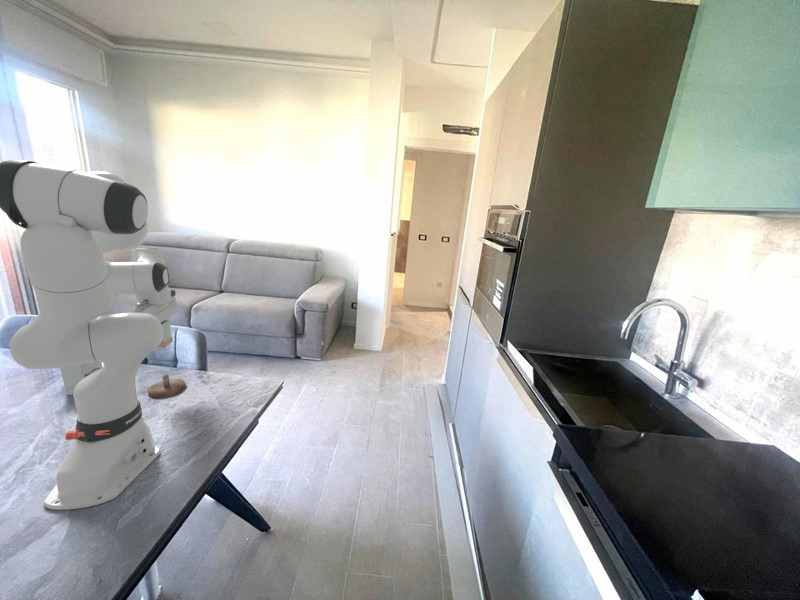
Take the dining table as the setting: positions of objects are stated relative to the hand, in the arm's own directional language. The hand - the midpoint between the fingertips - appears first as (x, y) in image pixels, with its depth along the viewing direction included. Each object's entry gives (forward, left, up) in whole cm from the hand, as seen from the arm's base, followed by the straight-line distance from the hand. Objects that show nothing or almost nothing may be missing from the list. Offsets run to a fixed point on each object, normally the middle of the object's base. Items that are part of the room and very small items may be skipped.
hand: (159, 335), depth 109 cm
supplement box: (+2, +26, -21) cm, 34 cm away
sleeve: (0, 0, -4) cm, 4 cm away
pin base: (0, 0, -21) cm, 21 cm away
